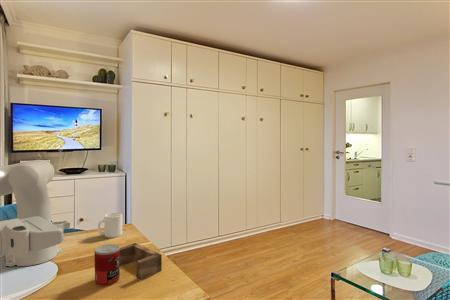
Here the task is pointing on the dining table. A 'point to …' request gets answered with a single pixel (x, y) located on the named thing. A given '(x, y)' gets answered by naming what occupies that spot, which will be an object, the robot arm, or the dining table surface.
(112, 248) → the canned food
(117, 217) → the cup
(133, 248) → the corral
